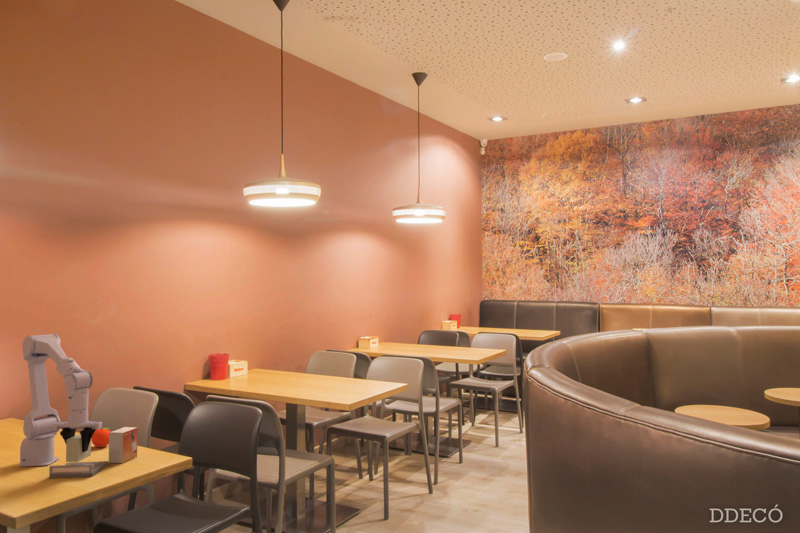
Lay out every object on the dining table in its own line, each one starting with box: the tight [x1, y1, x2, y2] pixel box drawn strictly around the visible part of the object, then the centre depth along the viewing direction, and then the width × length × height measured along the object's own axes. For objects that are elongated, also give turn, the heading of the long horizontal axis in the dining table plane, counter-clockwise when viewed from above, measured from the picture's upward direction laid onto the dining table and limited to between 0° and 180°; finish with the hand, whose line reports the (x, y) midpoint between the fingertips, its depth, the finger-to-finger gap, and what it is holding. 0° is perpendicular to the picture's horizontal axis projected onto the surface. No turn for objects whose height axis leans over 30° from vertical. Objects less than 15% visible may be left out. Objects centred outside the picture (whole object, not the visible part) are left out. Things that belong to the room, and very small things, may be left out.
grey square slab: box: [48, 460, 109, 479], centre depth 183 cm, size 13×12×4 cm
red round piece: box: [91, 427, 111, 448], centre depth 212 cm, size 8×7×7 cm
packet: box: [65, 433, 92, 463], centre depth 182 cm, size 4×7×7 cm, turn 0°
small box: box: [108, 426, 138, 464], centre depth 195 cm, size 8×6×10 cm
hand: (77, 451), depth 182 cm, fingers closed on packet, 4 cm apart
